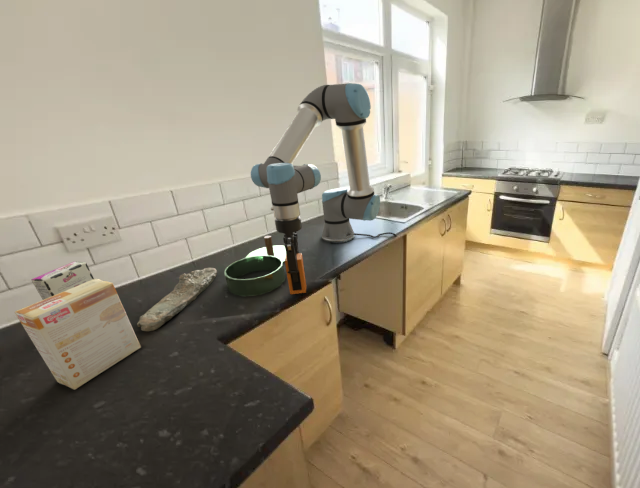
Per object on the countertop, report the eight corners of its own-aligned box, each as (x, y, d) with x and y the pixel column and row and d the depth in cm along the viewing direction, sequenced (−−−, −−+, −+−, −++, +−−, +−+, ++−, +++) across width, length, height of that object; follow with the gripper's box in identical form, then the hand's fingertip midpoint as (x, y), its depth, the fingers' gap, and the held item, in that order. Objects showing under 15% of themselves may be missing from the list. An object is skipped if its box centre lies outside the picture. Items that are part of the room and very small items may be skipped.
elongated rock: (129, 336, 89) (164, 338, 89) (122, 321, 87) (158, 323, 86) (199, 272, 120) (225, 273, 120) (195, 260, 118) (222, 261, 117)
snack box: (306, 285, 108) (301, 252, 103) (306, 292, 103) (301, 259, 98) (291, 286, 107) (285, 254, 102) (290, 294, 102) (284, 260, 97)
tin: (287, 268, 123) (284, 253, 120) (282, 293, 106) (279, 276, 103) (235, 273, 120) (231, 258, 117) (222, 300, 103) (217, 282, 100)
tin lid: (297, 246, 144) (294, 226, 140) (294, 265, 126) (291, 243, 122) (250, 250, 140) (246, 230, 137) (241, 270, 122) (236, 248, 119)
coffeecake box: (124, 341, 85) (95, 277, 77) (142, 347, 83) (114, 282, 75) (55, 382, 72) (12, 311, 64) (74, 391, 70) (31, 317, 62)
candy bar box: (96, 307, 101) (73, 260, 94) (109, 308, 100) (87, 261, 93) (57, 329, 91) (29, 278, 84) (71, 330, 90) (44, 280, 83)
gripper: (277, 210, 102) (288, 274, 112) (270, 228, 86) (283, 301, 96) (301, 208, 103) (310, 271, 113) (298, 225, 87) (308, 298, 97)
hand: (297, 285), depth 104 cm, fingers closed on snack box, 5 cm apart
